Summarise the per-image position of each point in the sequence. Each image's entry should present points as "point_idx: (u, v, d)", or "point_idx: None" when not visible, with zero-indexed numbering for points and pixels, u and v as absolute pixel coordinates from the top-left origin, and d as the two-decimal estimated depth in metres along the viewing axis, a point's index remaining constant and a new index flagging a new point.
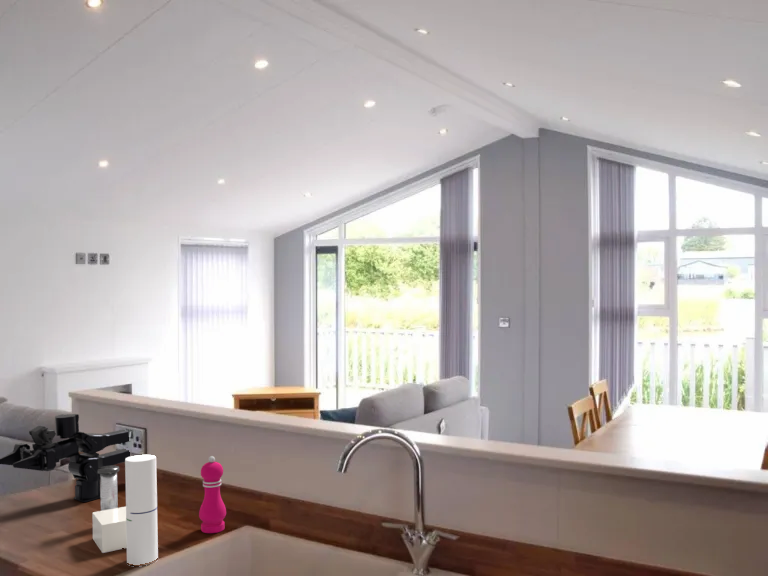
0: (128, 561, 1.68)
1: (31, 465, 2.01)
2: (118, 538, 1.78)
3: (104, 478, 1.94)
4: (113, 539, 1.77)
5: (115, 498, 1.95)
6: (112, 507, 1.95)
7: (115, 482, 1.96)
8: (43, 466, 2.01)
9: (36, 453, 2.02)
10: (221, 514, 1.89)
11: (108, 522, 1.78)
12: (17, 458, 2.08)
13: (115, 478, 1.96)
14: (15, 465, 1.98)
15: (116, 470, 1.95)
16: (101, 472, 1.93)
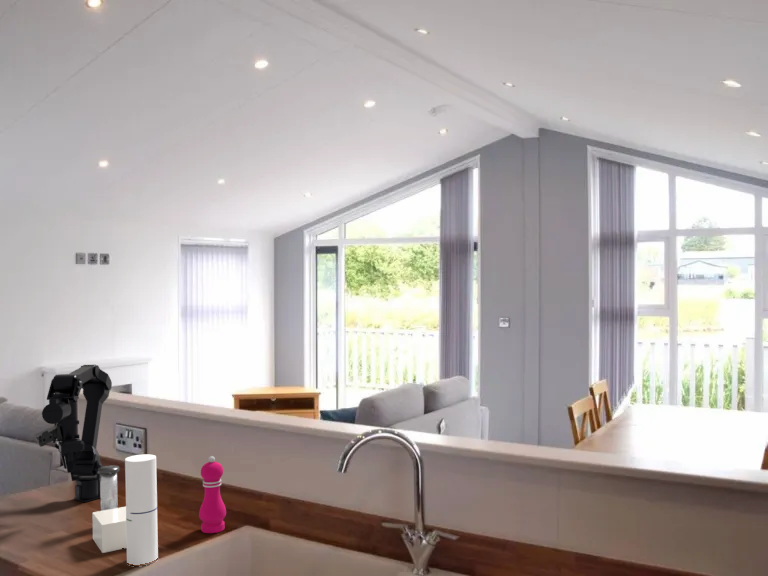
0: (128, 561, 1.68)
1: (73, 457, 2.03)
2: (118, 538, 1.78)
3: (104, 478, 1.94)
4: (113, 539, 1.77)
5: (115, 498, 1.95)
6: (112, 507, 1.95)
7: (115, 482, 1.96)
8: (77, 450, 2.01)
9: (62, 454, 2.01)
10: (221, 514, 1.89)
11: (108, 522, 1.78)
12: None
13: (115, 478, 1.96)
14: (69, 470, 2.03)
15: (116, 470, 1.95)
16: (101, 472, 1.93)
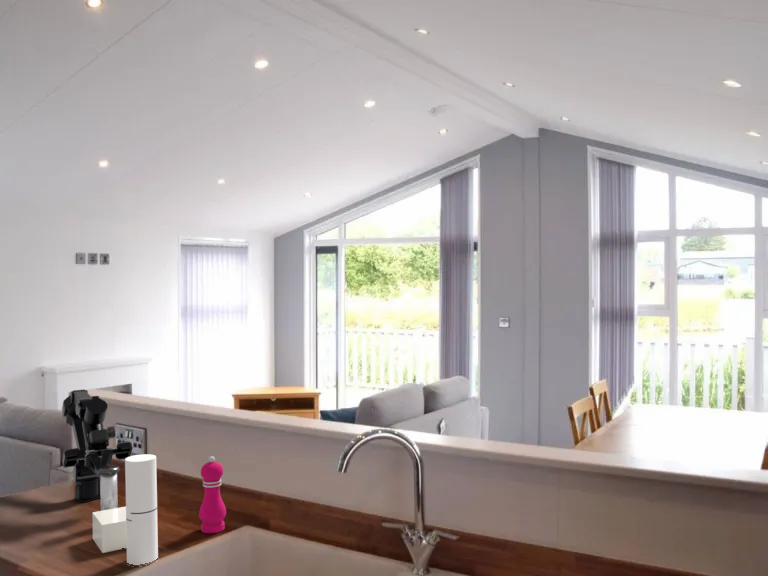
0: (128, 561, 1.68)
1: None
2: (118, 538, 1.78)
3: (104, 478, 1.94)
4: (113, 539, 1.77)
5: (115, 498, 1.95)
6: (112, 507, 1.95)
7: (115, 482, 1.96)
8: None
9: (106, 456, 2.05)
10: (221, 514, 1.89)
11: (108, 522, 1.78)
12: None
13: (115, 478, 1.96)
14: None
15: (116, 470, 1.95)
16: (101, 472, 1.93)
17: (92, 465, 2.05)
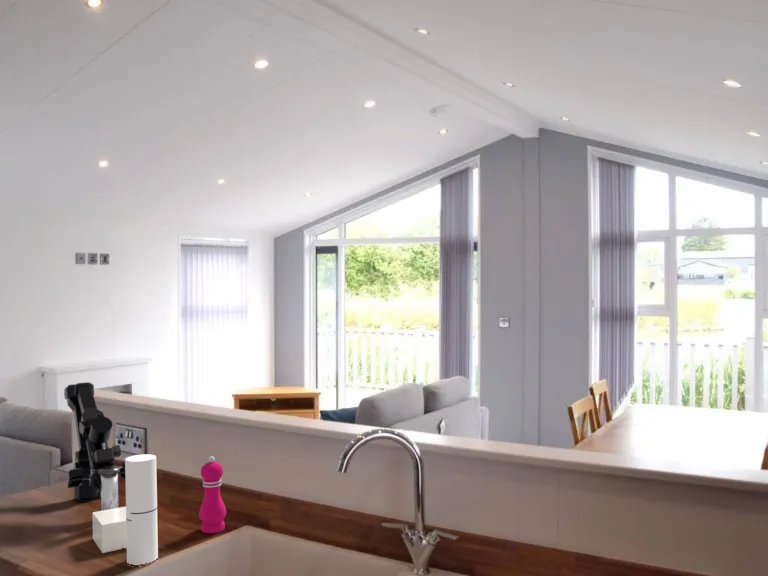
0: (128, 561, 1.68)
1: None
2: (118, 538, 1.78)
3: (105, 478, 1.93)
4: (113, 539, 1.77)
5: (116, 499, 1.95)
6: (113, 508, 1.94)
7: (116, 483, 1.95)
8: None
9: None
10: (221, 514, 1.89)
11: (108, 522, 1.78)
12: None
13: (116, 479, 1.95)
14: None
15: (117, 471, 1.94)
16: (102, 473, 1.93)
17: (97, 485, 2.01)
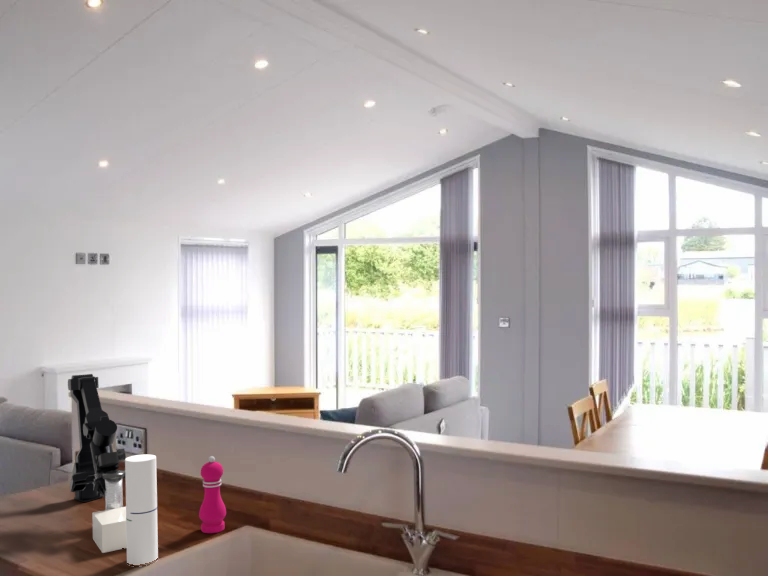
0: (128, 561, 1.68)
1: None
2: (118, 538, 1.78)
3: (109, 483, 1.89)
4: (113, 539, 1.77)
5: (120, 504, 1.90)
6: None
7: (120, 487, 1.90)
8: None
9: None
10: (221, 514, 1.89)
11: (108, 522, 1.78)
12: None
13: (120, 483, 1.90)
14: None
15: (121, 475, 1.90)
16: (106, 477, 1.88)
17: (101, 489, 1.96)
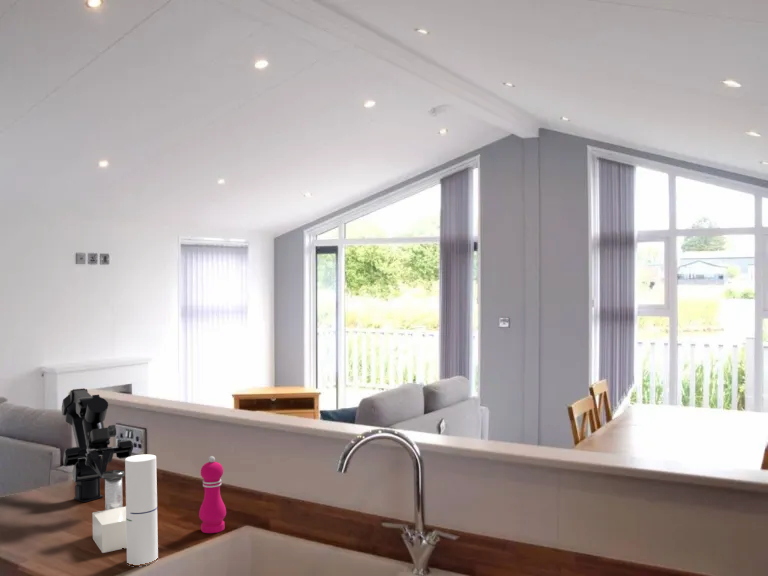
0: (128, 561, 1.68)
1: None
2: (118, 538, 1.78)
3: (109, 483, 1.89)
4: (113, 539, 1.77)
5: (120, 504, 1.90)
6: None
7: (120, 487, 1.91)
8: None
9: (107, 455, 2.05)
10: (221, 514, 1.89)
11: (108, 522, 1.78)
12: None
13: (120, 483, 1.91)
14: None
15: (121, 475, 1.90)
16: (106, 477, 1.88)
17: (93, 464, 2.05)
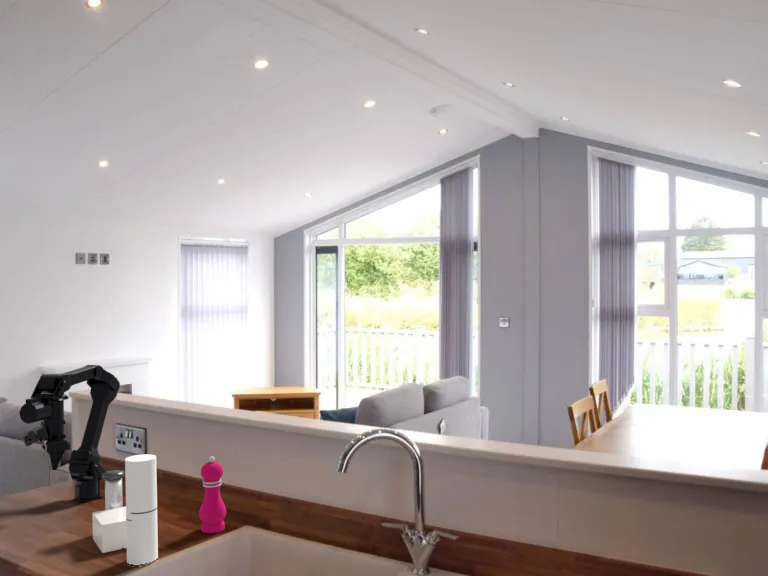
0: (128, 561, 1.68)
1: (58, 455, 2.06)
2: (118, 538, 1.78)
3: (109, 483, 1.89)
4: (113, 539, 1.77)
5: (120, 504, 1.90)
6: None
7: (120, 487, 1.91)
8: None
9: (46, 451, 2.04)
10: (221, 514, 1.89)
11: (108, 522, 1.78)
12: None
13: (120, 483, 1.91)
14: (54, 468, 2.06)
15: (121, 475, 1.90)
16: (106, 477, 1.88)
17: None
